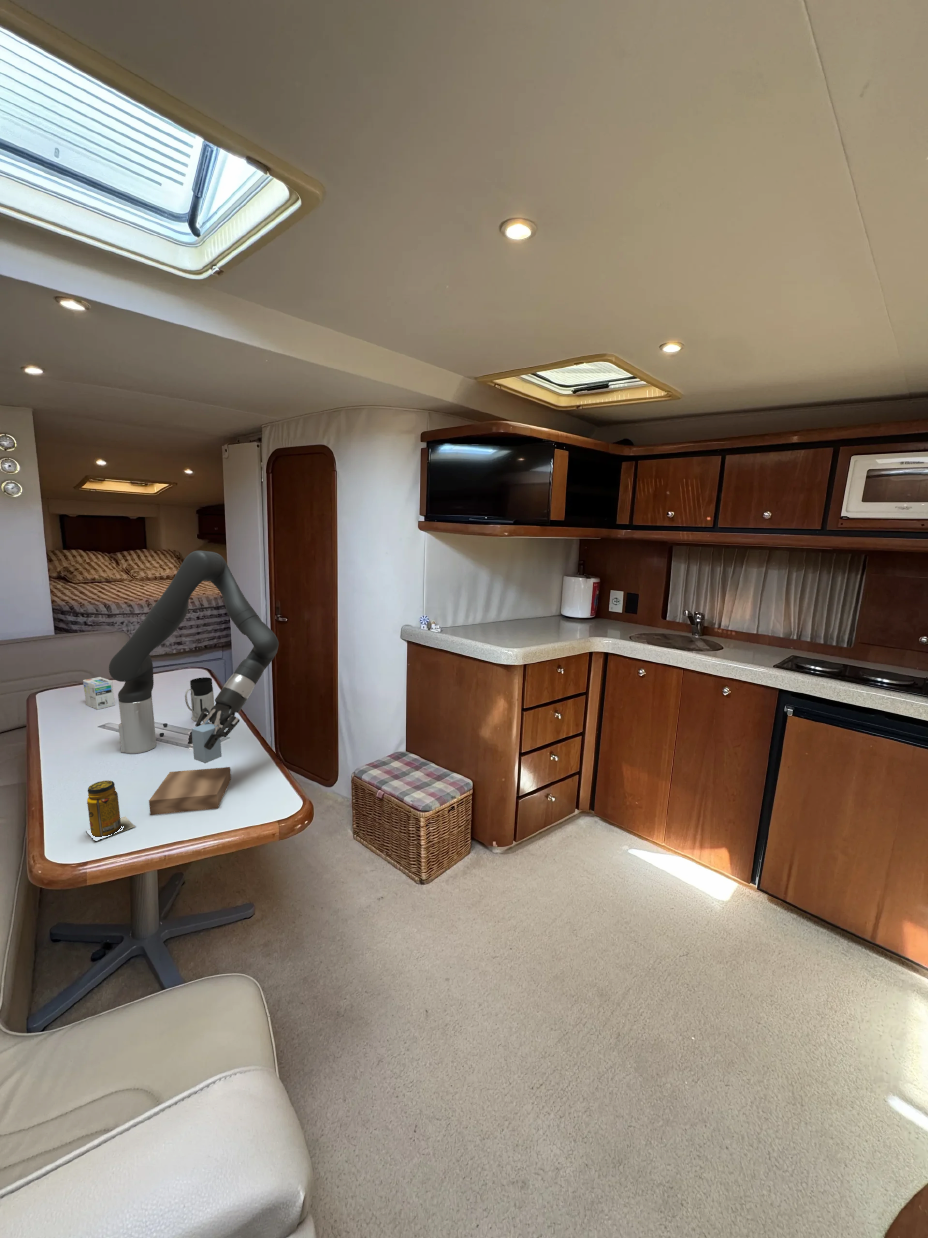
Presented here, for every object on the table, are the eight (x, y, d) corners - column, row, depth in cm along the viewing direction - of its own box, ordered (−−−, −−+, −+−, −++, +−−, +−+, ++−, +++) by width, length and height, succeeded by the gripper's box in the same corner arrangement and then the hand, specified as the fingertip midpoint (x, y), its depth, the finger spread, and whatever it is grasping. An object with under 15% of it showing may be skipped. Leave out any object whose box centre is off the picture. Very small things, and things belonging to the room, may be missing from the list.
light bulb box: (115, 705, 210) (112, 680, 209) (97, 710, 205) (94, 684, 203) (103, 700, 216) (100, 676, 214) (85, 705, 210) (82, 679, 209)
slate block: (205, 763, 140) (202, 732, 138) (194, 759, 142) (191, 728, 141) (221, 756, 144) (219, 726, 143) (210, 752, 147) (208, 722, 145)
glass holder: (221, 713, 202) (218, 677, 200) (199, 727, 189) (196, 688, 186) (200, 712, 203) (197, 676, 201) (176, 726, 189) (173, 687, 187)
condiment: (85, 831, 124) (79, 785, 122) (125, 816, 130) (120, 773, 128) (94, 843, 119) (88, 795, 117) (135, 827, 126) (131, 782, 123)
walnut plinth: (150, 815, 131) (148, 800, 130) (171, 785, 146) (169, 771, 146) (217, 808, 134) (216, 794, 134) (231, 779, 150) (230, 767, 149)
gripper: (211, 682, 150) (174, 735, 141) (243, 690, 143) (207, 746, 135) (228, 695, 155) (194, 746, 147) (260, 703, 148) (226, 757, 140)
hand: (200, 746), depth 141 cm, fingers closed on slate block, 5 cm apart
